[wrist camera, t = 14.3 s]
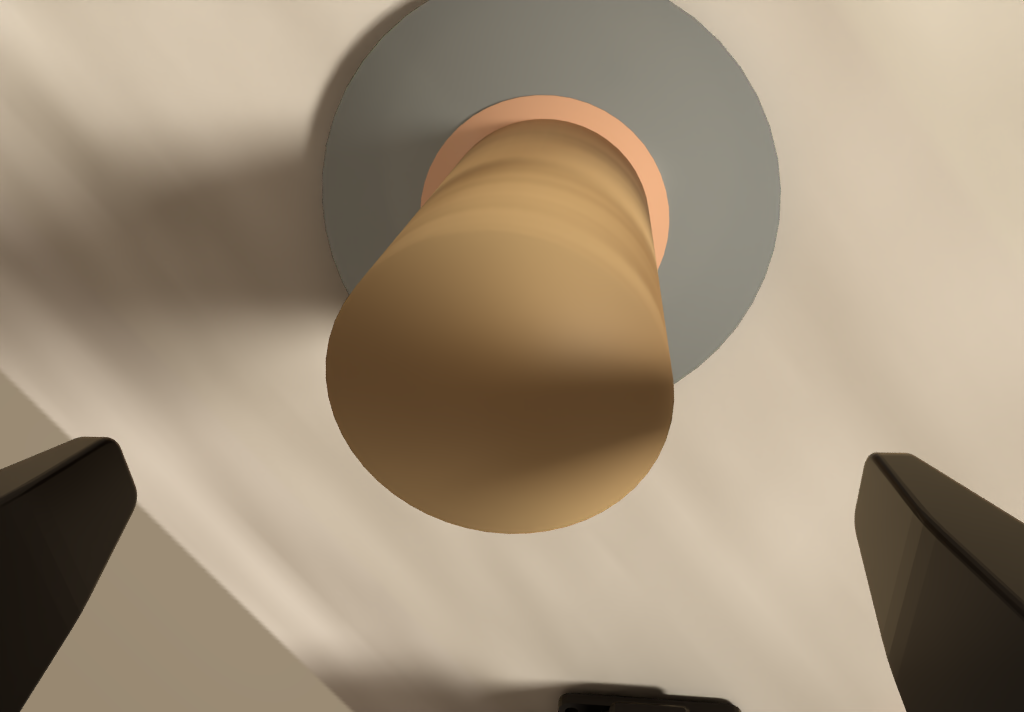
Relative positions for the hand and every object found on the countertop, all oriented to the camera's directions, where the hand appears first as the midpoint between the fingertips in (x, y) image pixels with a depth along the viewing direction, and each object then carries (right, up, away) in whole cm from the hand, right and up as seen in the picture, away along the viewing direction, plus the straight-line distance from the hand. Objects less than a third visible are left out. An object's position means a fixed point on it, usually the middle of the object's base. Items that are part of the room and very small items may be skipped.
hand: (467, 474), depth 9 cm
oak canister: (+1, +5, +9) cm, 10 cm away
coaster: (+1, +5, +9) cm, 11 cm away
